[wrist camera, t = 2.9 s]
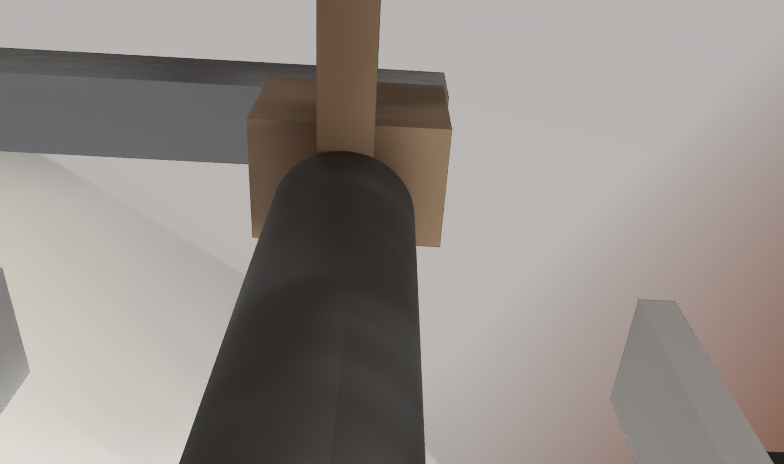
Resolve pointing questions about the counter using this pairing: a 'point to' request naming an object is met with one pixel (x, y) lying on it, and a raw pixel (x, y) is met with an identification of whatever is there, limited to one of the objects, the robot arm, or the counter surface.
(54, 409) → the counter surface
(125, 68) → the rail
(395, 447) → the pusher
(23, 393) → the counter surface
